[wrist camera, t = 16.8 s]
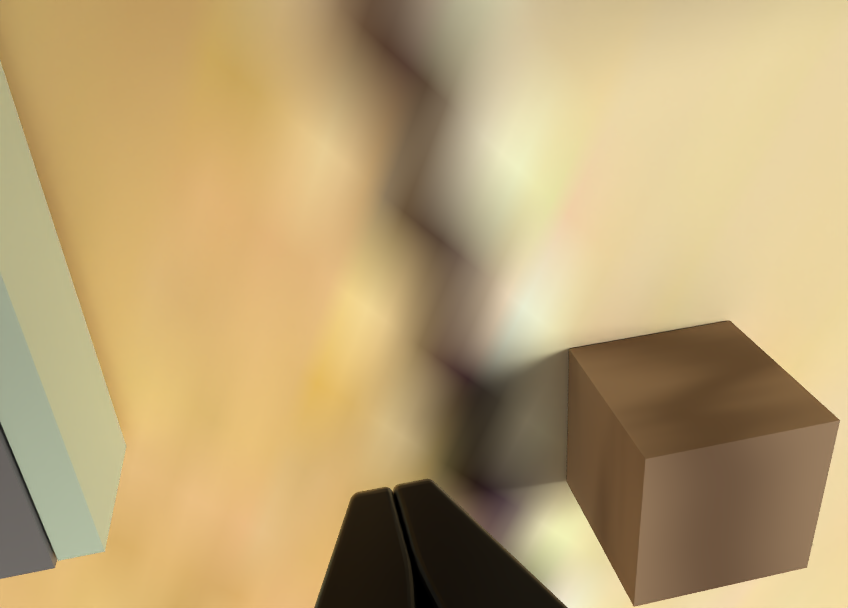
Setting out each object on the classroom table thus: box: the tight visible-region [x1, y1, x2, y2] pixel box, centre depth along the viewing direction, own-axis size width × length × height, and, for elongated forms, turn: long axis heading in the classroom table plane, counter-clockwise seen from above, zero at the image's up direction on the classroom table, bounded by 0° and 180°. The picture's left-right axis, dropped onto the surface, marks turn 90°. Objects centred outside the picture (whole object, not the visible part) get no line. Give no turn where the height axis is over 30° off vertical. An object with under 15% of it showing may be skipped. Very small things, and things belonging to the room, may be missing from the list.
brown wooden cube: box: [567, 321, 840, 606], centre depth 22 cm, size 5×5×5 cm
